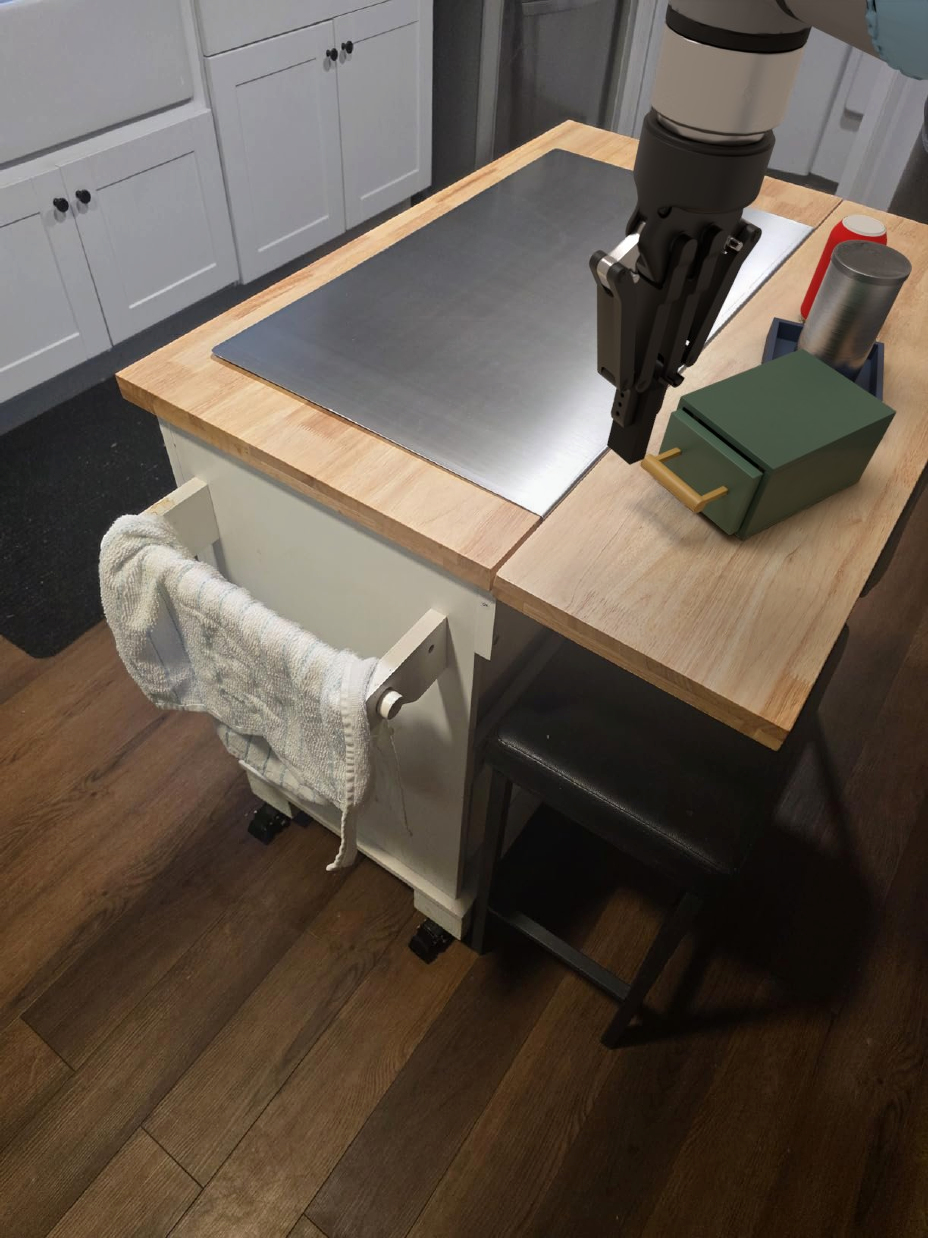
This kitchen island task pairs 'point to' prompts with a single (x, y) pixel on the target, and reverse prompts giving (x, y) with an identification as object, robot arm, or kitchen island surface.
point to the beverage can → (843, 231)
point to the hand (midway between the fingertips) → (625, 451)
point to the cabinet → (793, 431)
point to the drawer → (705, 471)
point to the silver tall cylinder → (853, 304)
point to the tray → (785, 340)
